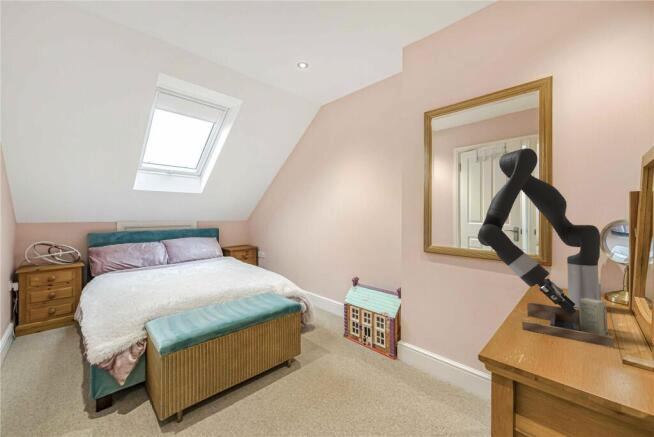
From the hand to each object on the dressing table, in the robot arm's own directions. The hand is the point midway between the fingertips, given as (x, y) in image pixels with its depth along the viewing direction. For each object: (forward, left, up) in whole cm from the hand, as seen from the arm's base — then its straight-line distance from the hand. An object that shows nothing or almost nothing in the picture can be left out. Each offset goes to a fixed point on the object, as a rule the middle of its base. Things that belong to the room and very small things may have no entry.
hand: (573, 309), depth 87 cm
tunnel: (+2, -2, -7) cm, 7 cm away
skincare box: (-3, +3, -7) cm, 8 cm away
